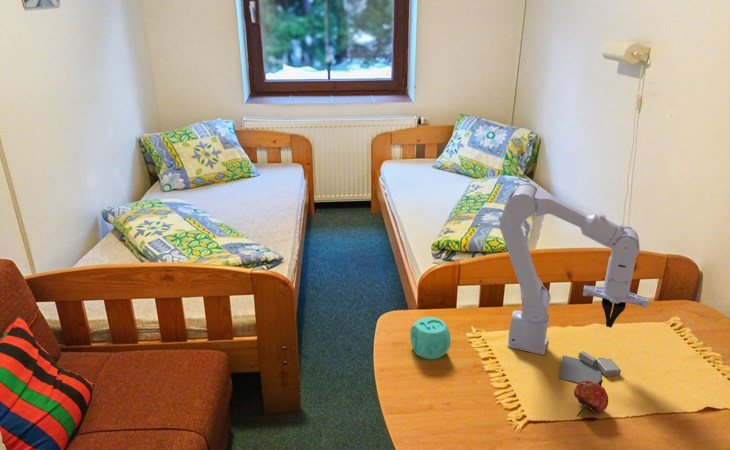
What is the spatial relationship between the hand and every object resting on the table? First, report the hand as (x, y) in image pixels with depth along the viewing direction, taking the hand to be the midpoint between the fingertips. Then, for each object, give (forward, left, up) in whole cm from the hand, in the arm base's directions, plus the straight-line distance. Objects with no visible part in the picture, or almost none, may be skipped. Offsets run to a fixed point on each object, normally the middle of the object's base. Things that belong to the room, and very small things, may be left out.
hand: (609, 325), depth 139 cm
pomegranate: (-2, -21, -11) cm, 24 cm away
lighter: (+1, -7, -9) cm, 12 cm away
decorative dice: (-42, -15, -11) cm, 46 cm away
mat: (-5, -8, -11) cm, 14 cm away
